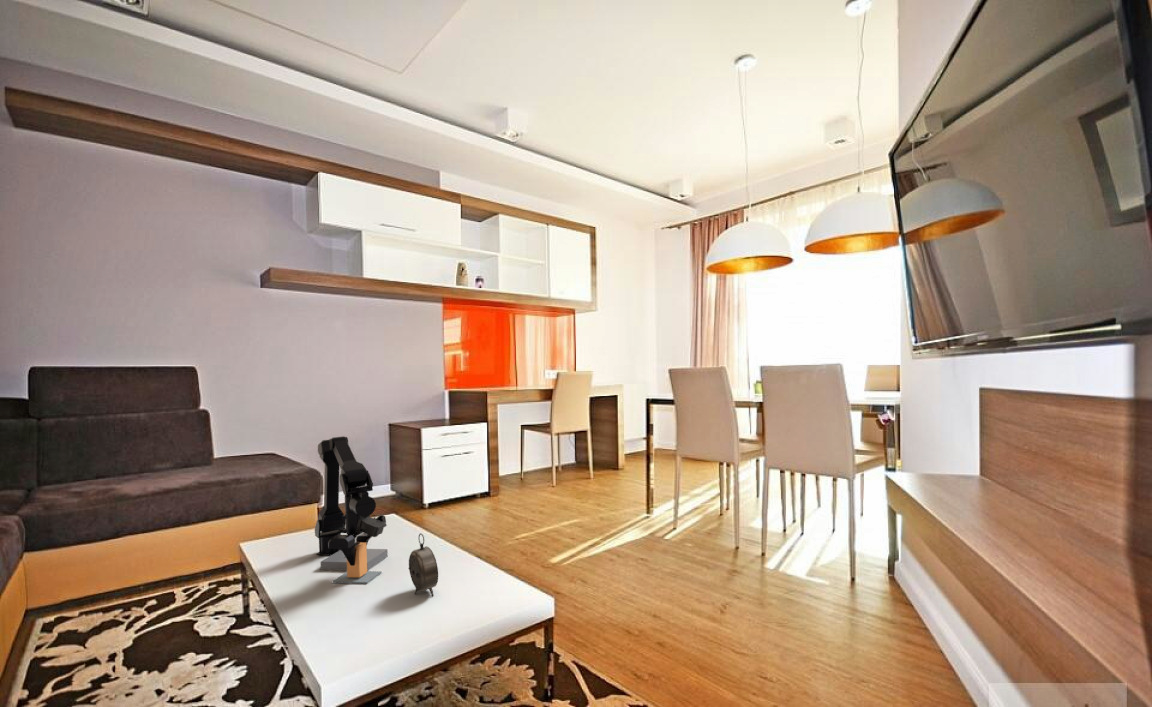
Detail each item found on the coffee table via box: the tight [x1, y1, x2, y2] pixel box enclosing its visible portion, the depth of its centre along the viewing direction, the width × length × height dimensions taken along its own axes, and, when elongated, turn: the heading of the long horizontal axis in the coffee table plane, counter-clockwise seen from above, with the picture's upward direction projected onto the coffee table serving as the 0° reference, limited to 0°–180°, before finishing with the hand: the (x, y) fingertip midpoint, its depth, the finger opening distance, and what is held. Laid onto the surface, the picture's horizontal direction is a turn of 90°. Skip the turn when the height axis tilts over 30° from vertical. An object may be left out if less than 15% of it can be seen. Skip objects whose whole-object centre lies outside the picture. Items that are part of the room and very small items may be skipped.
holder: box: [320, 548, 389, 571], centre depth 169 cm, size 16×12×2 cm
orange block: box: [346, 542, 368, 577], centre depth 156 cm, size 4×4×9 cm
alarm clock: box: [408, 532, 439, 597], centre depth 144 cm, size 11×5×16 cm, turn 38°
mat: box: [332, 570, 382, 585], centre depth 156 cm, size 11×8×1 cm
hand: (356, 562), depth 156 cm, fingers closed on orange block, 4 cm apart
